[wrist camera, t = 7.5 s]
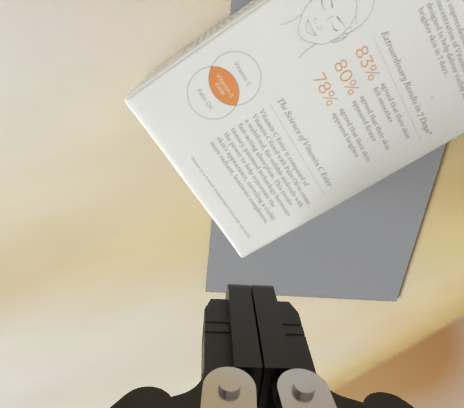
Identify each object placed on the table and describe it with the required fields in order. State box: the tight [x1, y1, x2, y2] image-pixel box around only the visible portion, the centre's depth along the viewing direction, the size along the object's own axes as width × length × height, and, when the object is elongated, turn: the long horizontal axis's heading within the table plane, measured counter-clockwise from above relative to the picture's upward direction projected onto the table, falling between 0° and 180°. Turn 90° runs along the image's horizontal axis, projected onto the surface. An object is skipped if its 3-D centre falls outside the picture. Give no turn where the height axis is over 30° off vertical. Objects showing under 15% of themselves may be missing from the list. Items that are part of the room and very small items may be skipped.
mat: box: [206, 0, 446, 302], centre depth 23 cm, size 19×12×1 cm, turn 174°
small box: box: [125, 0, 464, 258], centre depth 18 cm, size 8×6×13 cm
